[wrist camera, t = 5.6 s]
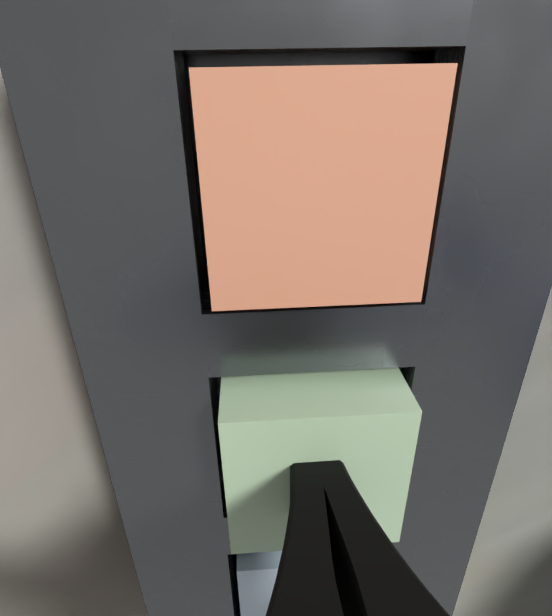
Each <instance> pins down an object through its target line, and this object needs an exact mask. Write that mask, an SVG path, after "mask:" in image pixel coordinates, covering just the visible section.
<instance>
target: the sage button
mask: <svg viewBox="0 0 552 616" xmlns="http://www.w3.org/2000/svg"><path fill="white" fill-rule="evenodd" d="M421 416H422V410H421V408H420V406H419V404H418V403H417V401H416V399H415V397H414V395H413V393H412V392H411V390H410V388H409V386H408V384H407V382H406V380H405V379H404V377H403V375H402V373H401V371H400V369H399V368H380V369H361V370H343V371H324V372H305V373H286V374H267V375H248V376H229V377H221V388H220V401H219V415H218V430H219V440H220V450H221V459H222V469H223V479H224V489H225V499H226V509H227V518H228V528H229V538H230V548H231V554H243V553H256V552H270V551H282V549H283V545H284V539H285V534H286V527H287V521H288V514H289V506H290V466H291V465H292V464H293V463H302V462H317V461H332V460H340V461H342V462H343V463H344V465H345V467H346V469H347V471H348V473H349V475H350V477H351V479H352V481H353V483H354V484H355V486H356V488H357V490H358V491H359V493H360V495H361V496H362V498H363V500H364V501H365V503H366V505H367V506H368V508H369V509H370V511H371V513H372V514H373V516H374V517H375V519H376V520H377V522H378V523H379V525H380V526H381V528H382V529H383V531H384V532H385V534H386V535H387V537H388V538H389V539H390V541H391V542H399V540H400V535H401V529H402V523H403V518H404V512H405V507H406V501H407V495H408V490H409V484H410V478H411V473H412V467H413V461H414V456H415V450H416V445H417V439H418V433H419V428H420V422H421Z"/></svg>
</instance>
